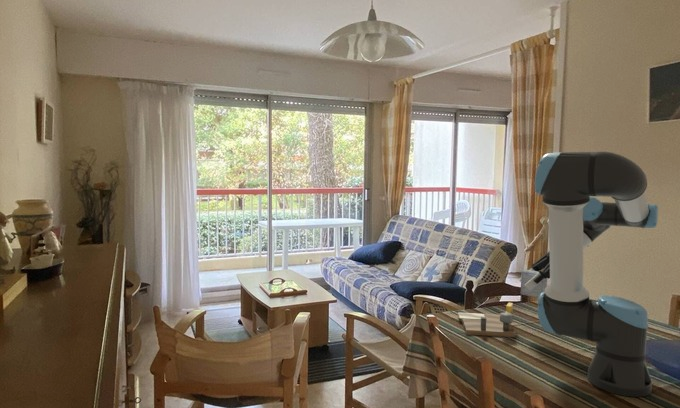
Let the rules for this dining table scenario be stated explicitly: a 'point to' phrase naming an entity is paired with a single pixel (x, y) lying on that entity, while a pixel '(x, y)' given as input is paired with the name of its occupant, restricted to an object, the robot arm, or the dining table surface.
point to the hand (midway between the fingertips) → (524, 285)
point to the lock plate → (490, 327)
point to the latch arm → (507, 314)
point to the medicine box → (537, 290)
